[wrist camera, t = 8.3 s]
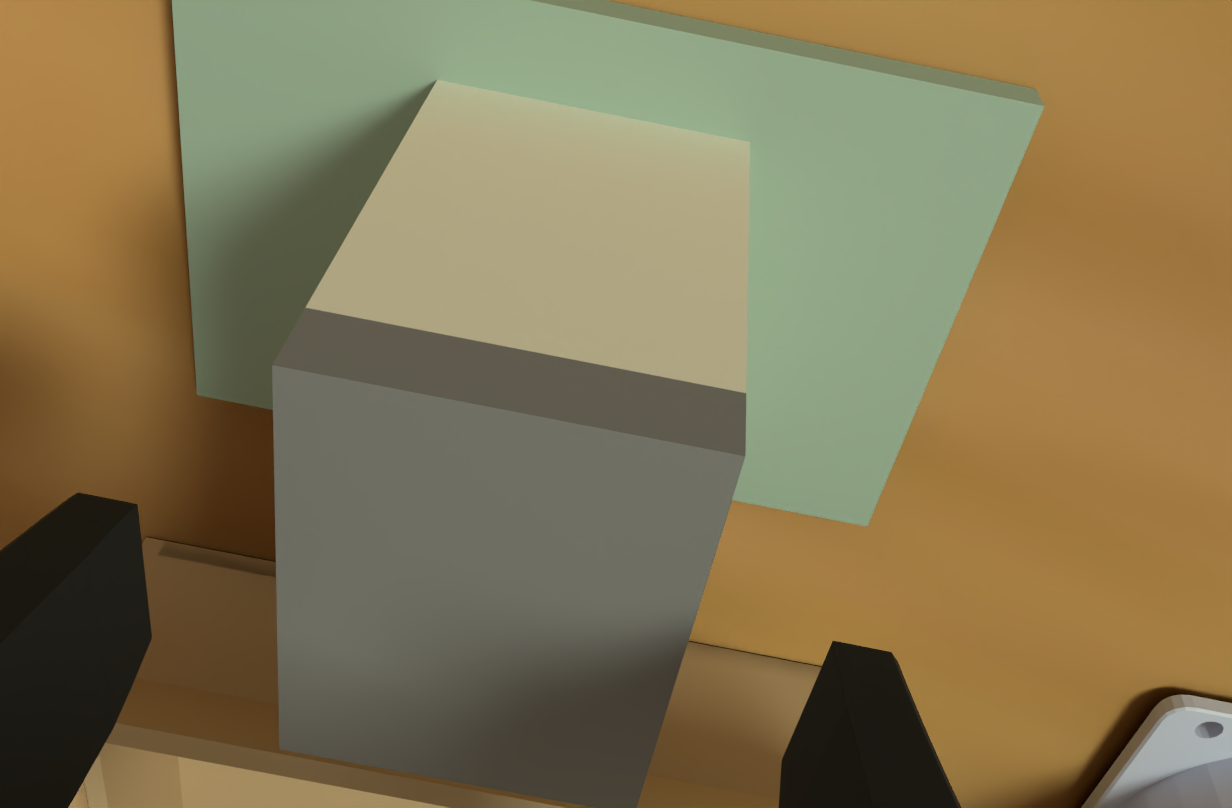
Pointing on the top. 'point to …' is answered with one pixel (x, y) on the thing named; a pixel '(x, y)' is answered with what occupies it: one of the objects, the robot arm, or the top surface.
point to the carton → (364, 795)
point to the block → (512, 447)
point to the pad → (633, 88)
